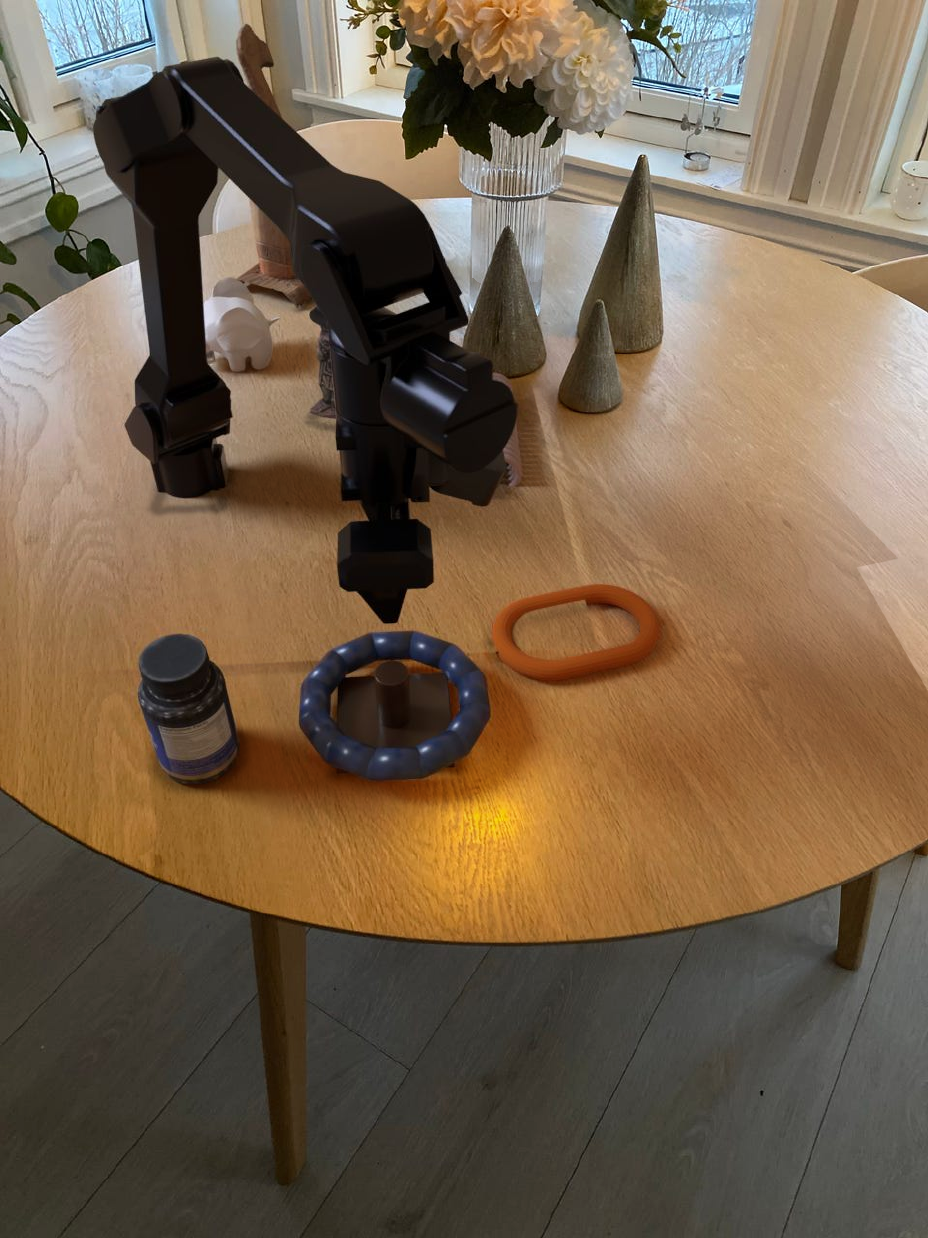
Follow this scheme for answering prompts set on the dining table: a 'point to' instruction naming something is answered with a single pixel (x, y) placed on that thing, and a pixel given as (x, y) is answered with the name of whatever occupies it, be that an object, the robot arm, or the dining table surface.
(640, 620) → the orange oval loop
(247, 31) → the bird sculpture
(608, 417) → the dining table surface
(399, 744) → the stand
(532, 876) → the dining table surface
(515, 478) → the coil
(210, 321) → the elephant figurine
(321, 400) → the statue
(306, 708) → the ring
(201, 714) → the pill bottle
